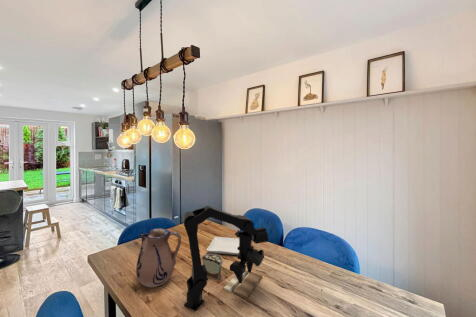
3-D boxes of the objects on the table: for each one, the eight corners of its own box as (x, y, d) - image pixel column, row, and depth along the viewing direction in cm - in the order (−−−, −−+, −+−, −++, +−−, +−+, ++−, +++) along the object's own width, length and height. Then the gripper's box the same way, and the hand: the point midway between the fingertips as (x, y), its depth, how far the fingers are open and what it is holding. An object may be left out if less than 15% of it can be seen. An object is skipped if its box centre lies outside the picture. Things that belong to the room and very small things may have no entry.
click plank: (246, 298, 96) (247, 295, 96) (233, 293, 100) (233, 290, 100) (262, 277, 112) (262, 275, 112) (250, 273, 116) (250, 271, 115)
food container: (227, 275, 114) (227, 256, 114) (220, 281, 109) (220, 262, 108) (208, 268, 120) (208, 251, 120) (201, 274, 115) (201, 255, 115)
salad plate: (239, 257, 133) (239, 252, 133) (205, 255, 136) (205, 249, 136) (243, 243, 154) (243, 238, 154) (214, 240, 157) (214, 236, 157)
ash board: (231, 292, 100) (231, 289, 100) (223, 289, 102) (223, 287, 102) (248, 273, 116) (248, 270, 116) (241, 271, 118) (241, 268, 118)
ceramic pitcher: (137, 275, 113) (137, 228, 112) (179, 268, 121) (179, 223, 120) (134, 297, 97) (133, 242, 96) (183, 286, 105) (182, 235, 103)
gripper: (252, 258, 87) (252, 295, 88) (269, 240, 104) (268, 272, 104) (229, 251, 93) (229, 286, 93) (248, 236, 109) (248, 266, 110)
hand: (245, 277), depth 100 cm, fingers open, 9 cm apart
